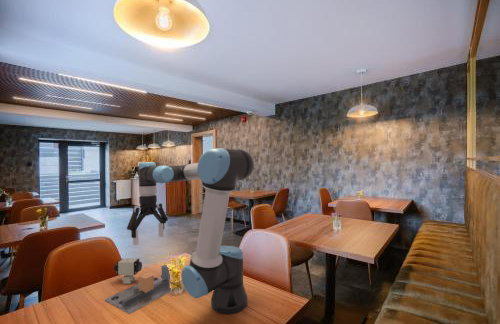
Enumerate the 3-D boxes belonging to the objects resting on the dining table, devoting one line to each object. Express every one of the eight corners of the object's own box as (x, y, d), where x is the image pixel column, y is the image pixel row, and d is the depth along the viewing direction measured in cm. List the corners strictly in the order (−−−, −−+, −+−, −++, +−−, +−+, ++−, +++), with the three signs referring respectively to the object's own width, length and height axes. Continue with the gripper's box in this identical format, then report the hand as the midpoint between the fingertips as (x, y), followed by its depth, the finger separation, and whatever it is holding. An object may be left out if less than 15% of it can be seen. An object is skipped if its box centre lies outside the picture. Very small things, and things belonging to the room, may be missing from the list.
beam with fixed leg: (172, 284, 118) (171, 266, 118) (126, 308, 99) (126, 287, 99) (163, 280, 121) (163, 264, 121) (118, 303, 102) (117, 283, 102)
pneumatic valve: (138, 284, 119) (137, 260, 119) (114, 284, 119) (113, 260, 119) (143, 279, 125) (142, 255, 125) (120, 279, 125) (120, 255, 125)
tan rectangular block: (153, 292, 109) (153, 275, 109) (145, 297, 106) (145, 278, 106) (145, 289, 113) (144, 271, 113) (137, 293, 109) (136, 275, 109)
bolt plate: (177, 287, 116) (177, 285, 116) (129, 314, 96) (129, 312, 96) (153, 278, 126) (153, 276, 126) (105, 300, 106) (105, 298, 106)
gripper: (164, 191, 128) (165, 232, 128) (117, 198, 107) (118, 247, 106) (174, 192, 124) (175, 234, 124) (127, 198, 103) (128, 250, 102)
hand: (149, 240), depth 115 cm, fingers open, 13 cm apart
